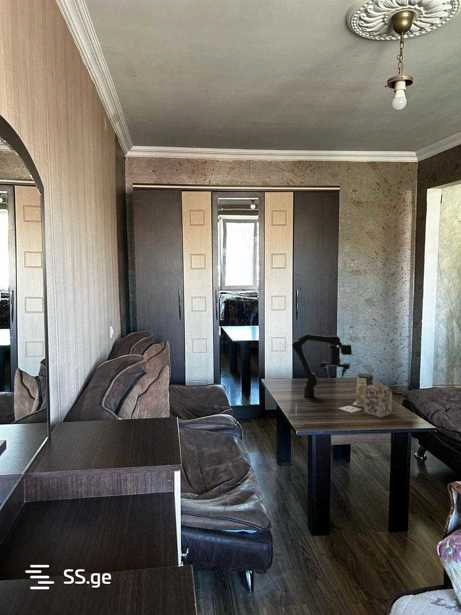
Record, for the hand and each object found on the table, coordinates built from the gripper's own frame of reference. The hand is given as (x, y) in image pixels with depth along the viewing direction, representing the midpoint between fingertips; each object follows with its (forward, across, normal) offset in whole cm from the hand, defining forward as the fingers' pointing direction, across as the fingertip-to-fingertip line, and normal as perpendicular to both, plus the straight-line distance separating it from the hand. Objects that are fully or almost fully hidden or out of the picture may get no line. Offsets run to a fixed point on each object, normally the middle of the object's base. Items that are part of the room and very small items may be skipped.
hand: (335, 378), depth 299 cm
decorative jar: (+13, -29, +25) cm, 40 cm away
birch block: (+13, -18, +10) cm, 24 cm away
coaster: (+13, -18, +10) cm, 24 cm away
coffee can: (+13, -18, -12) cm, 25 cm away
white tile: (+13, -13, +23) cm, 29 cm away
